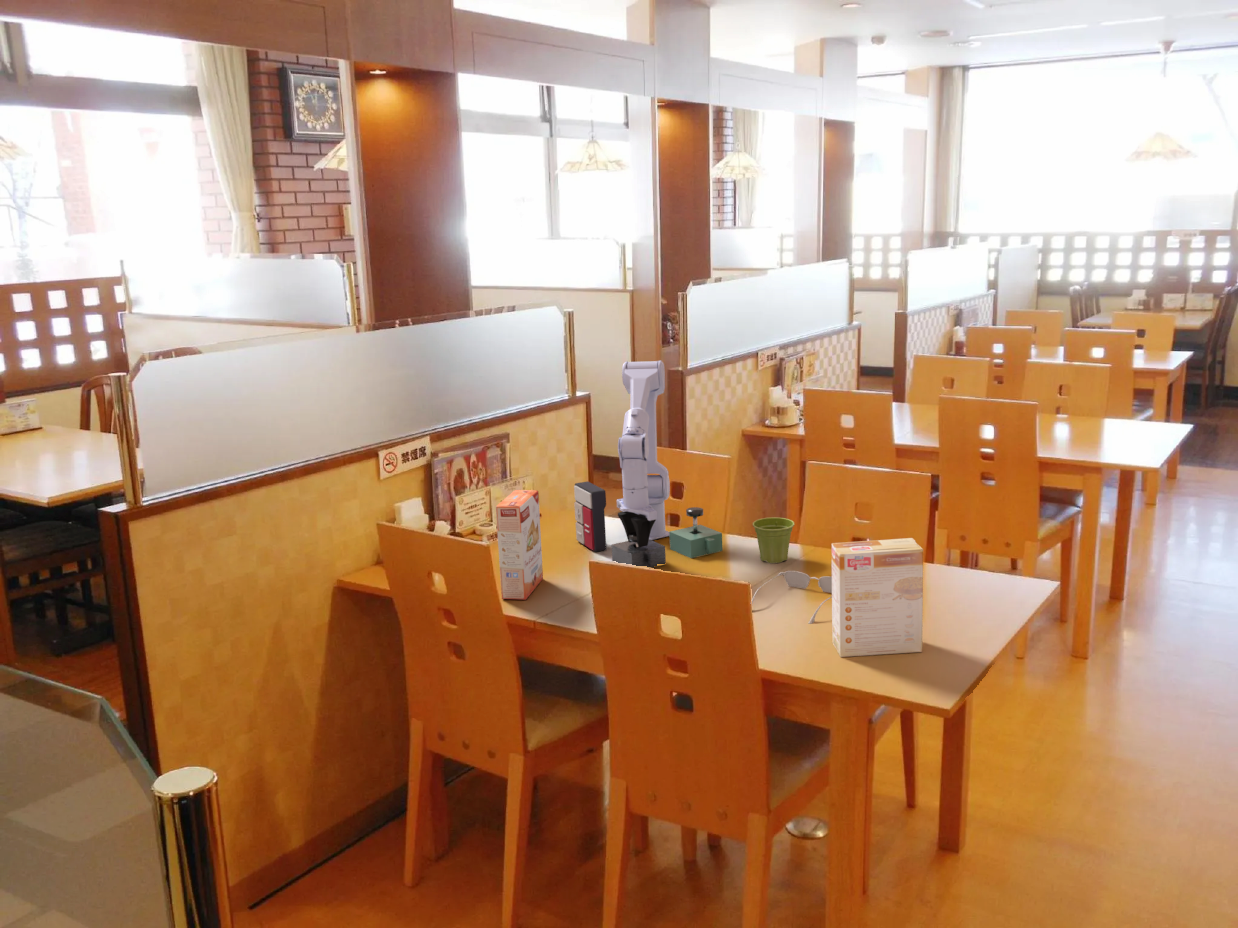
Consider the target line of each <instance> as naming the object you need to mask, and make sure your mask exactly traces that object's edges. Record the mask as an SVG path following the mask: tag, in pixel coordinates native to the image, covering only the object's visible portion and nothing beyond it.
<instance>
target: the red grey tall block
mask: <svg viewBox="0 0 1238 928" xmlns="http://www.w3.org/2000/svg"><path fill="white" fill-rule="evenodd" d="M573 490H574V492H573V494H574V501H575V502H574V505H573V506H574V516H575V521H576V522H575V534H576V536H575V537H576V541H578V542H579V543H581V544H582V545H584V546H585V547H587V548H588V549H590V550H592V551H593V552H594V553H597V552H604V551H606V550H607V539H606V538H607V536H606V520H605V509H606V506H607V494H606V493H607V492H606V490H605V489H603V488H602V487H601V486H597V485H596V484H594V483H591V482H590V481H588V480H587V481H583V482H576V483H574V486H573Z"/></svg>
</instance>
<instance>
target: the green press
mask: <svg viewBox="0 0 1238 928" xmlns="http://www.w3.org/2000/svg"><path fill="white" fill-rule="evenodd" d="M697 528H698V534H693V525H692V526H687V527H685V528H680V529H676V530H671V531H670V530H669V531H668V532H669V535H670V536H669V549H670V550H671V551H674V552H675V551H676V552H675V553H678V554H680V555H682V556H684V557H687V558H689V559H694V558H699V557H703V556H706V555H707V556H708V555H710V554H715V553H719V552H723V550H724V549H723V533H722V532H721V531H718V530H715V529H713V528H710V527H708V526H705V525H702V524H697Z"/></svg>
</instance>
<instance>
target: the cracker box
mask: <svg viewBox="0 0 1238 928" xmlns="http://www.w3.org/2000/svg"><path fill="white" fill-rule="evenodd" d="M539 494H540V493H539V490H535V489H515V490H513V491H512V492H511V493H510V494H508V495H507V496H506V497H505V498H504V499H503V500H502V501H501V502H499V503H498V504H497V505H495V515H496V517H495V518H496V530H497V531H496V533H497V546H498V558H499V560H498V562H499V563H498V564H499V576H500V577H499V578H500V591H501V599H503V600H520V601H522V600H523V601H526V600H527V599H528V597H529V596H530V595H531V594H532V592H534V590H535V589H536V588H537V586H538V585H540V583H541V582H542V581H543V580H544V573H543V572H544V570H543V555H542V554H543V553H542V551H543V550H542V537H541V536H542V535H541V532H542V531H541V515H540V514H541V513H540V498H539V497H540V495H539Z"/></svg>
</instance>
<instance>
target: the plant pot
mask: <svg viewBox="0 0 1238 928" xmlns="http://www.w3.org/2000/svg"><path fill="white" fill-rule="evenodd" d="M794 526H795V521H793V520H792V519H789V518H785V517H764V518H758V519H756V520H754V521H752V527H754V532H755V534H756V539H757V544H758V550H759V556H760V560H761V561H762V562H767V563H769V564H779V563H783V562H784V561H787V560H788V556H789V549H790V548H789V547H790V541H791V534H792V532H793V528H794Z"/></svg>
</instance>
